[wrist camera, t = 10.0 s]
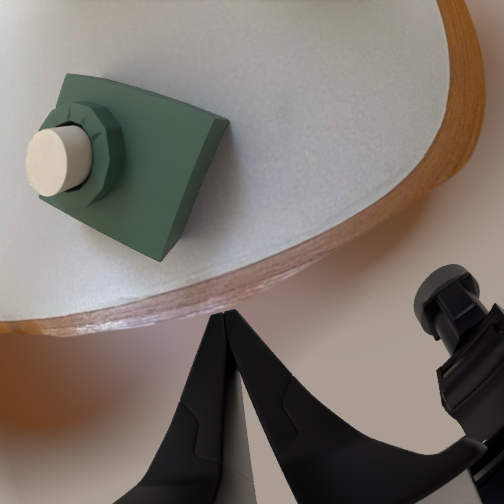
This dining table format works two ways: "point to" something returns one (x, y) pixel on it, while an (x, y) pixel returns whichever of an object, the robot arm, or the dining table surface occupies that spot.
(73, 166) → the cream push button
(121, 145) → the green button housing
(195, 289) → the dining table surface
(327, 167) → the dining table surface
